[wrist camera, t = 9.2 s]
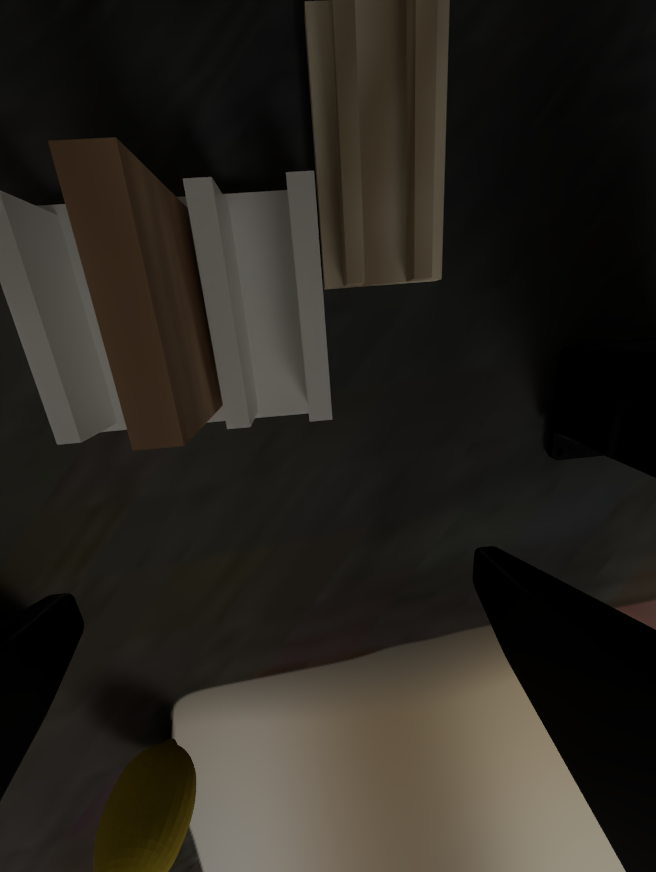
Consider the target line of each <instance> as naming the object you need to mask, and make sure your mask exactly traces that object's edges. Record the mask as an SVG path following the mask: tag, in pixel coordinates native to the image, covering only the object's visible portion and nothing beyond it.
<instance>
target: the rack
mask: <svg viewBox="0 0 656 872" xmlns="http://www.w3.org/2000/svg"><path fill="white" fill-rule="evenodd" d="M286 180H287V190H280V191H264V192H248V193H233V194H222V193H221V191H220V189H219V188H218V186H217V185H216V183H215V181H214V180H213V178H212V177H201V178H184V179H183V183H184V189H185V195H186V196H185V197H177V198H178V199H179V200H180V201H181V202H182V203H183V204H184V205H185V206H186V207H187V208H188V211H189V217H190V223H191V228H192V234H193V239H194V245H195V251H196V256H197V262H198V268H199V273H200V279H201V284H202V290H203V296H204V301H205V307H206V313H207V318H208V324H209V329H210V335H211V341H212V346H213V352H214V357H215V363H216V369H217V374H218V380H219V386H220V391H221V397H222V402H223V406H222V407H221V408H220V409H219V410H218V411H217V412H216V413H215V414H214V415H213V416H212V417H211V418H210V420H209V421H208V422H217V421H226V425H227V429H234V428H245V427H251V425H252V423H253V421H254V419H255V418H261V417H272V416H283V415H294V414H305V413H309V420H310V421H321V420H332V409H331V395H330V382H329V368H328V354H327V341H326V327H325V314H324V300H323V287H322V273H321V259H320V246H319V232H318V219H317V205H316V192H315V178H314V171H299V172H286ZM0 283H1V286H2V289H3V291H4V294H5V297H6V300H7V303H8V306H9V309H10V311H11V314H12V317H13V320H14V323H15V326H16V328H17V331H18V334H19V337H20V340H21V343H22V346H23V348H24V351H25V354H26V357H27V360H28V363H29V365H30V368H31V371H32V374H33V377H34V380H35V383H36V385H37V388H38V391H39V394H40V397H41V400H42V402H43V405H44V408H45V411H46V414H47V417H48V420H49V422H50V425H51V428H52V431H53V434H54V437H55V440H56V442H57V445H59V444H70V443H81V442H83V441H85V440H87V439H89V438H90V437H92V436H94V435H96V434H98V433H100V432H106V431H117V430H127V428H126V424H125V420H124V417H123V413H122V409H121V406H120V402H119V398H118V395H117V391H116V387H115V384H114V380H113V376H112V373H111V369H110V366H109V362H108V358H107V355H106V351H105V347H104V344H103V340H102V336H101V333H100V329H99V325H98V322H97V318H96V314H95V311H94V307H93V303H92V300H91V296H90V293H89V289H88V285H87V282H86V278H85V274H84V271H83V267H82V263H81V260H80V256H79V252H78V249H77V245H76V241H75V238H74V234H73V231H72V227H71V223H70V220H69V216H68V212H67V209H66V205H65V204H58V205H42V206H35V205H33V204H31V203H28V202H26V201H24V200H21V199H19V198H17V197H14V196H12V195H10V194H8V193H5V192H3V191H1V190H0Z"/></svg>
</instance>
